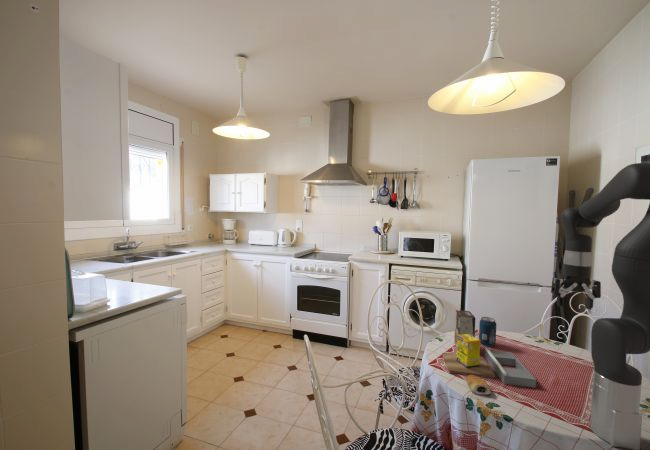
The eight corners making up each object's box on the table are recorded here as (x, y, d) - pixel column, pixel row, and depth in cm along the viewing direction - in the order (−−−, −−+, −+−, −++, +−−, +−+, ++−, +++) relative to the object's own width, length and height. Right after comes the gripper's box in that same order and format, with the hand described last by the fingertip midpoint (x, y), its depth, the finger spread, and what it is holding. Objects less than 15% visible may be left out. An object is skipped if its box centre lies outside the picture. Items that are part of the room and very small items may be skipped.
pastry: (462, 378, 107) (462, 369, 107) (481, 380, 106) (482, 370, 106) (471, 394, 98) (472, 384, 97) (492, 397, 97) (493, 386, 96)
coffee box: (474, 353, 125) (476, 317, 125) (458, 352, 127) (460, 316, 126) (468, 344, 134) (469, 310, 134) (453, 342, 136) (455, 309, 135)
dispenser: (535, 387, 102) (536, 376, 102) (503, 383, 104) (503, 372, 104) (511, 359, 121) (511, 349, 121) (484, 356, 123) (484, 346, 123)
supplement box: (456, 360, 117) (457, 334, 117) (468, 359, 119) (469, 333, 118) (466, 368, 112) (468, 341, 111) (479, 366, 113) (480, 339, 113)
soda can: (482, 339, 140) (483, 315, 139) (497, 344, 135) (499, 319, 134) (476, 343, 136) (477, 318, 135) (492, 349, 130) (493, 323, 130)
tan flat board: (495, 378, 107) (495, 375, 107) (449, 372, 110) (449, 370, 110) (482, 359, 121) (482, 357, 121) (442, 355, 124) (442, 352, 124)
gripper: (560, 264, 100) (558, 309, 101) (608, 266, 98) (605, 313, 98) (548, 260, 108) (546, 303, 109) (592, 262, 105) (589, 306, 106)
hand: (574, 307), depth 103 cm, fingers open, 8 cm apart
